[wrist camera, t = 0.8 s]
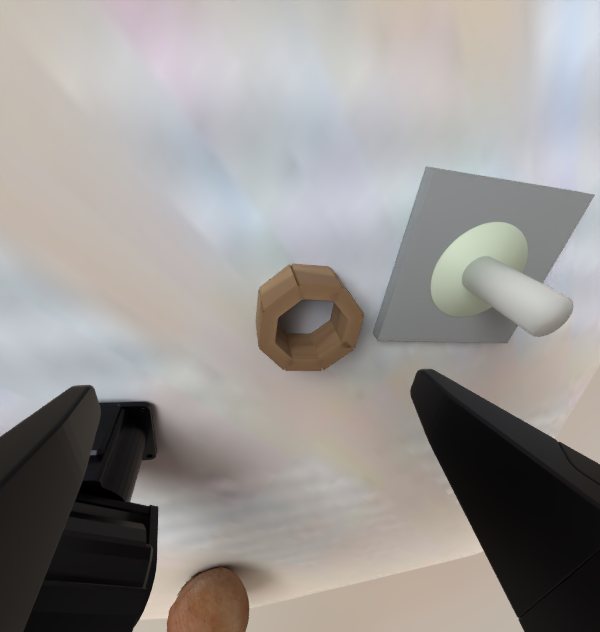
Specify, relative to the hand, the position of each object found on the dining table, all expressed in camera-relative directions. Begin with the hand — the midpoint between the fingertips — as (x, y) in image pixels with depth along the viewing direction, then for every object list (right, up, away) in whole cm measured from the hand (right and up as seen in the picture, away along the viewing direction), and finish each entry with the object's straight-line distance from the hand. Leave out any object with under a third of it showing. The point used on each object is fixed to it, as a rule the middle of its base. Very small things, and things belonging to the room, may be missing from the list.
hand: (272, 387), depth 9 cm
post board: (+13, +6, +14) cm, 20 cm away
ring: (+1, +3, +13) cm, 14 cm away
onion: (-11, -32, +33) cm, 47 cm away
